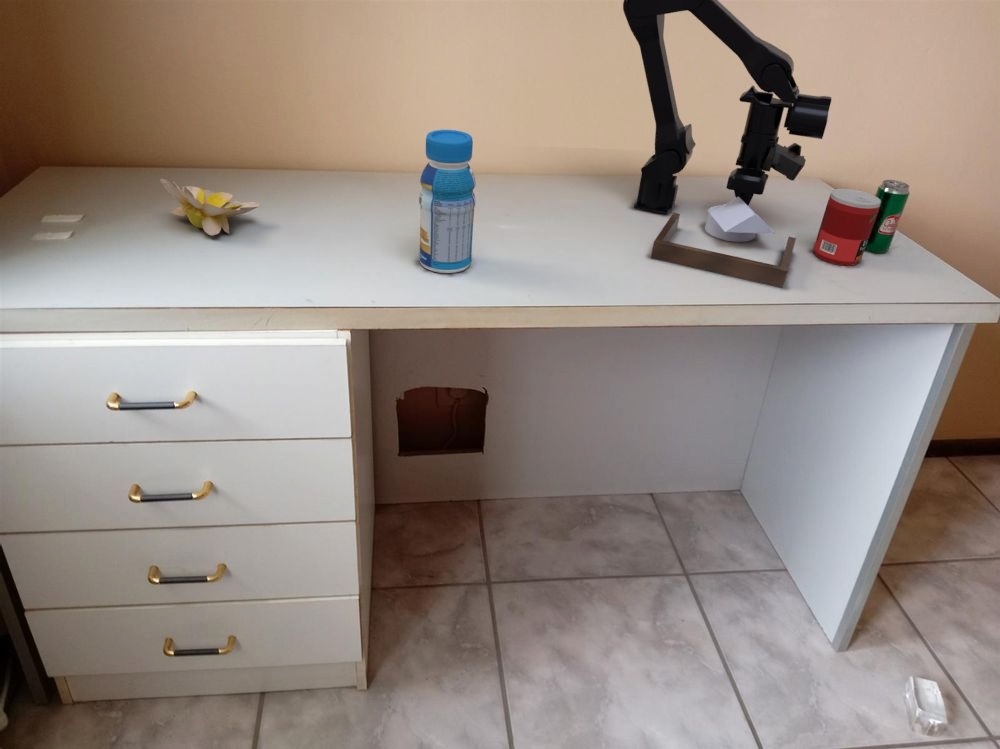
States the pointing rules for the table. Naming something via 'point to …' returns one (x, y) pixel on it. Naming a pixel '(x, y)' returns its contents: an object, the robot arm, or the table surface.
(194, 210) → the decorative flower
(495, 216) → the table surface
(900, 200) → the soda can
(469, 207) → the beverage bottle
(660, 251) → the bay
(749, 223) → the wedge on round base
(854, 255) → the canned food
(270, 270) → the table surface
